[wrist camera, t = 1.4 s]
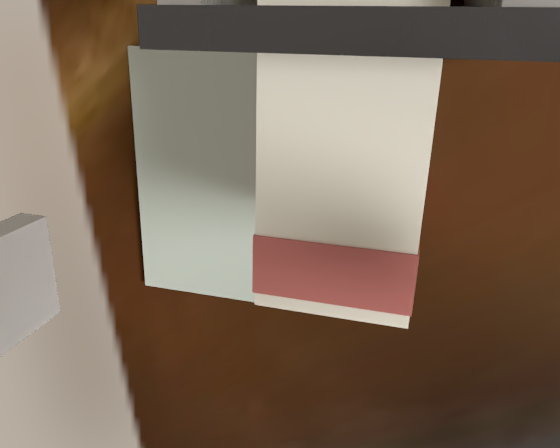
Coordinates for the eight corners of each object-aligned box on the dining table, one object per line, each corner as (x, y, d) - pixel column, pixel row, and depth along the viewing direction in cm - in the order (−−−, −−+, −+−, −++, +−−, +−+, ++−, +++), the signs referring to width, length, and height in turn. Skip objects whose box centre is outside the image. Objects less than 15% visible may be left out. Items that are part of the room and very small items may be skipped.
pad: (270, 301, 29) (268, 304, 29) (148, 282, 31) (145, 285, 31) (276, 49, 24) (273, 49, 24) (131, 45, 26) (127, 45, 26)
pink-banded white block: (414, 219, 25) (409, 330, 15) (316, 208, 27) (252, 305, 16) (453, -98, 21) (484, -241, 10) (332, -93, 22) (255, -217, 12)
